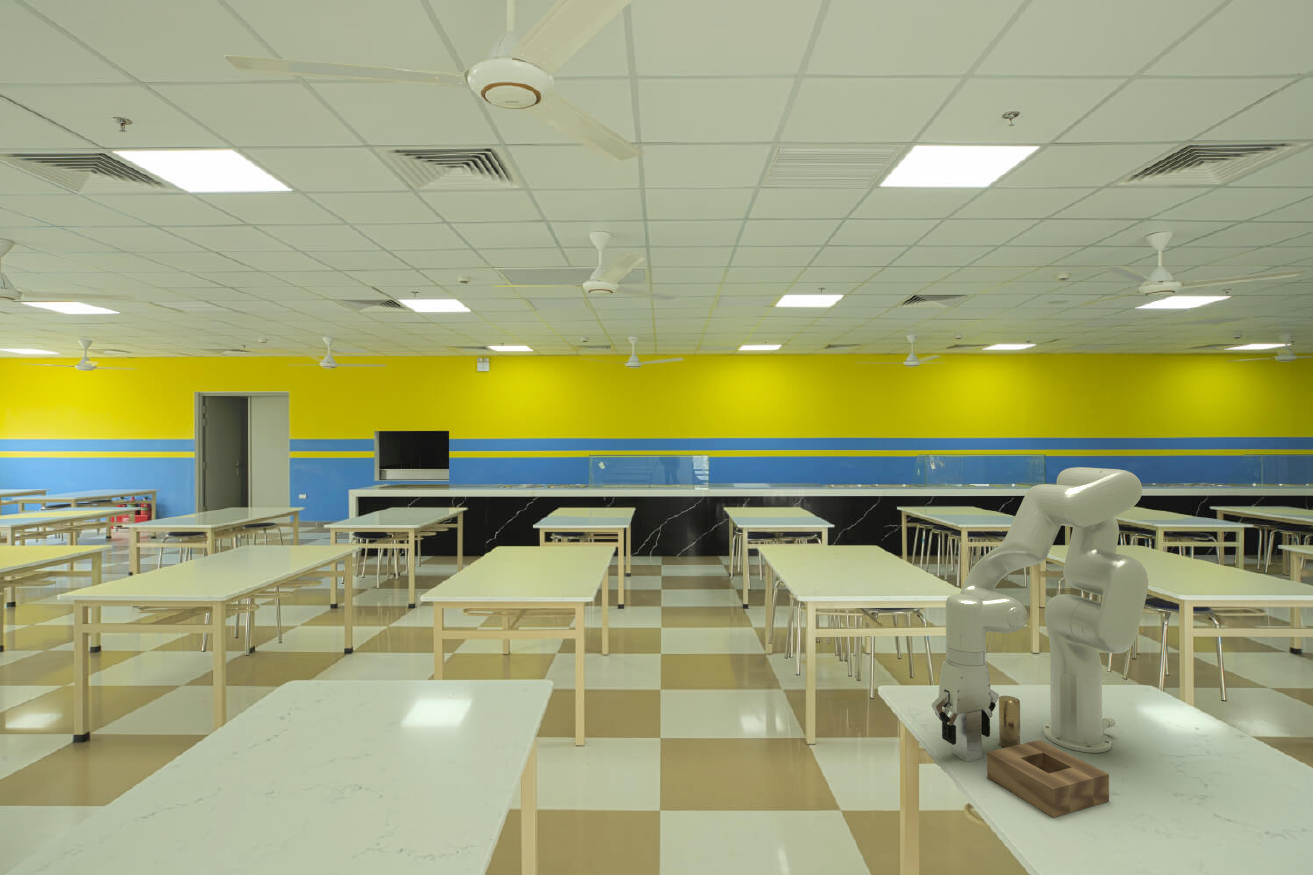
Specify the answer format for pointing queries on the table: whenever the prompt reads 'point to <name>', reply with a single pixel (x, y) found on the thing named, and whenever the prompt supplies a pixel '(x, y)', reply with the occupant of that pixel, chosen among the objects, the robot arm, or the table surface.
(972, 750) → the square peg
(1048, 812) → the socket block
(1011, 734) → the round peg
